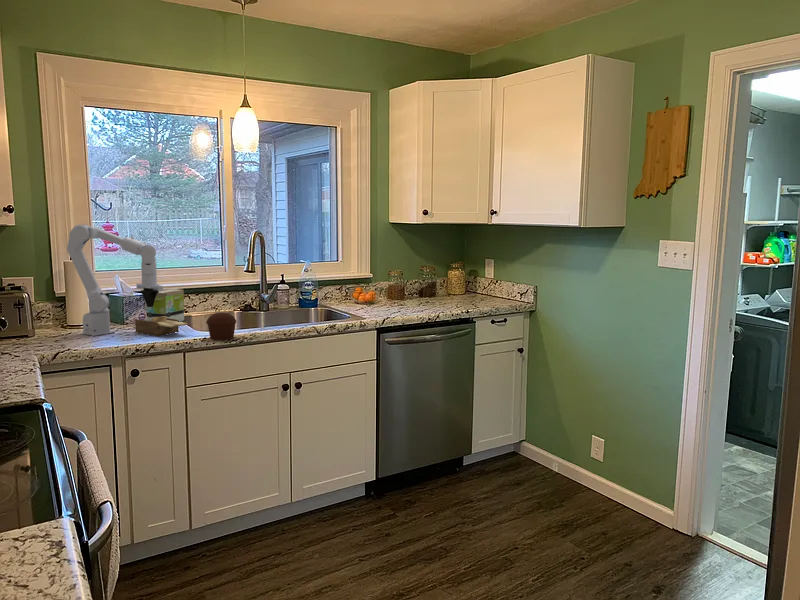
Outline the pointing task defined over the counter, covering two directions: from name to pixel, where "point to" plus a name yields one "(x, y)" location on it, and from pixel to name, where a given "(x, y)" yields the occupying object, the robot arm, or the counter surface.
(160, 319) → the lid
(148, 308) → the tea box
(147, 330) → the box
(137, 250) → the robot arm
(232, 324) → the muffin
